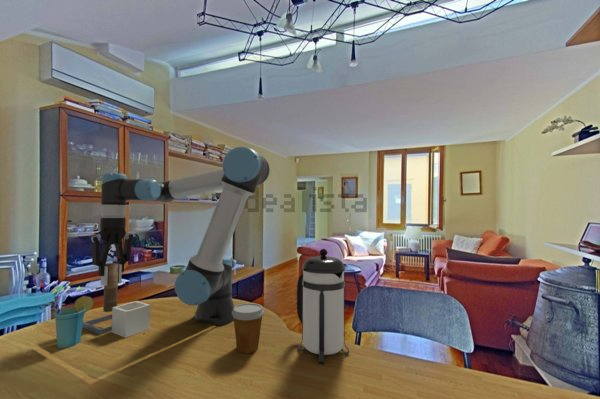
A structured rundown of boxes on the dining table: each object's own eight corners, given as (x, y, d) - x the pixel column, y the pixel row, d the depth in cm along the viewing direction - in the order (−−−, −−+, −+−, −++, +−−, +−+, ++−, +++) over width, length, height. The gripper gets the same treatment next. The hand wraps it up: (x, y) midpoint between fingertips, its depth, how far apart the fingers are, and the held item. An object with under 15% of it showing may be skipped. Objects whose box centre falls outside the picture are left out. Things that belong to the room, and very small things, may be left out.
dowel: (119, 309, 102) (120, 263, 103) (107, 312, 98) (108, 265, 99) (113, 307, 104) (114, 262, 105) (100, 310, 100) (102, 264, 101)
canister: (149, 331, 98) (150, 304, 98) (125, 340, 91) (126, 311, 91) (135, 326, 102) (136, 300, 102) (111, 335, 95) (112, 307, 95)
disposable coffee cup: (270, 348, 87) (270, 307, 87) (243, 359, 80) (244, 315, 80) (250, 338, 93) (251, 300, 94) (224, 348, 86) (225, 307, 87)
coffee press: (350, 341, 91) (350, 246, 93) (347, 368, 76) (347, 253, 77) (297, 335, 95) (297, 244, 97) (283, 360, 80) (284, 250, 81)
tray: (137, 325, 103) (137, 318, 103) (100, 338, 93) (100, 330, 93) (118, 318, 109) (118, 312, 109) (81, 330, 99) (82, 322, 99)
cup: (47, 362, 78) (49, 305, 78) (28, 357, 80) (30, 302, 81) (98, 340, 91) (99, 292, 92) (80, 336, 94) (82, 289, 94)
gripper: (131, 216, 112) (129, 277, 111) (80, 217, 97) (77, 287, 96) (143, 217, 108) (141, 280, 107) (91, 217, 93) (89, 291, 92)
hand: (111, 283), depth 102 cm, fingers closed on dowel, 4 cm apart
